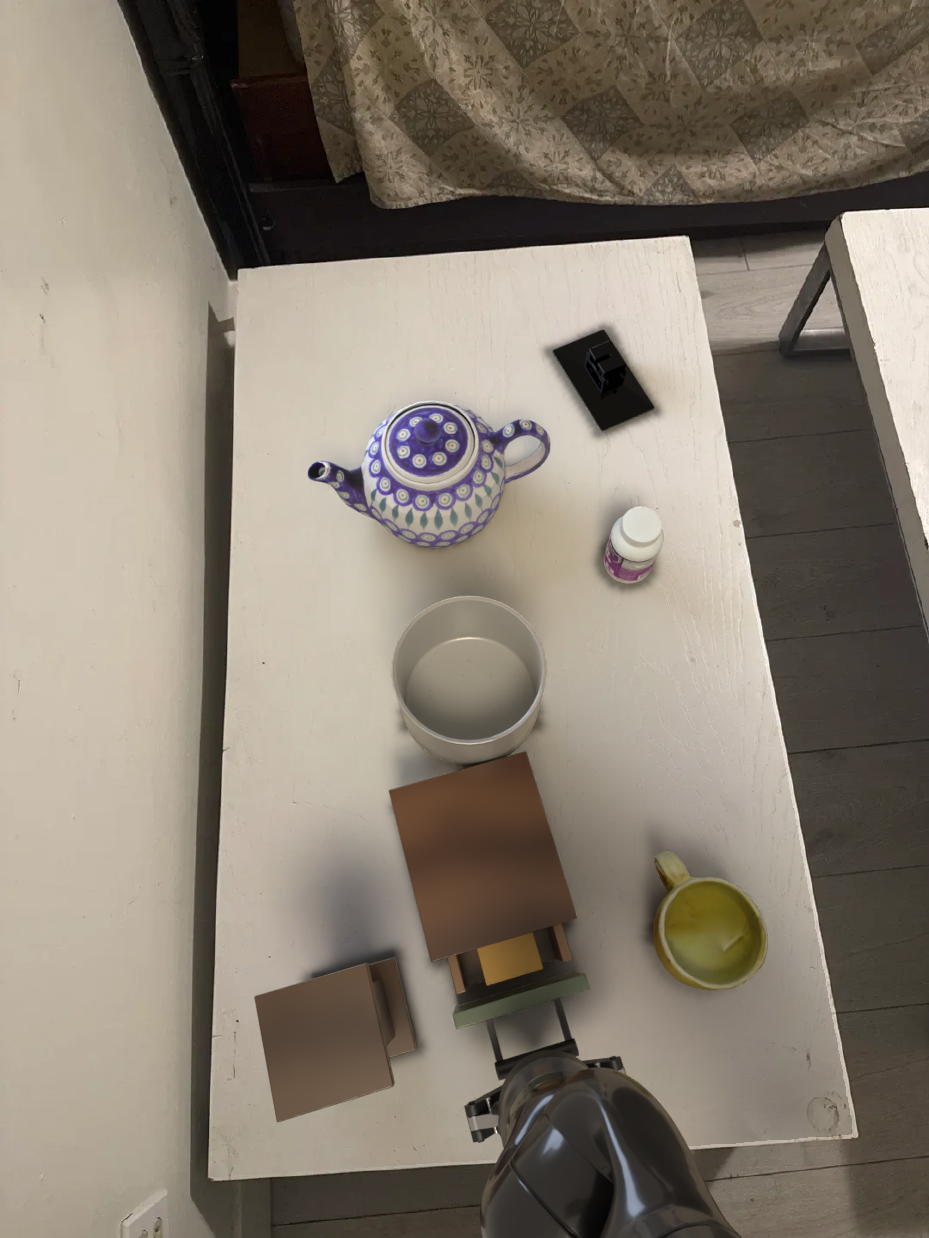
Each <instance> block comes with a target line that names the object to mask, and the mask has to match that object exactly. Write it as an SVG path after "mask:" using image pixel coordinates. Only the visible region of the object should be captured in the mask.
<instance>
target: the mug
mask: <svg viewBox="0 0 929 1238" xmlns="http://www.w3.org/2000/svg"><path fill="white" fill-rule="evenodd" d="M654 865H655V869H656V872H657V876H658V878H659V880H660V882H661V883H662V885H663V887H664V890H665V897H664V898H663V899H662V900H661V902H660V904H659V906H658V908H657V910H656V913H655V917H654V921H653V930H652V941H653V946H654V950H655V953H656V956H657V958H658V959H659V961H660V963H661V964H662V966H663V967H664V969H665V970H666V971H667V972H668V974H670V975H671V976H672V977H673V978H674V979H676V980H677V981H678V982H680V983H681V984H684V985H686V986H688V987H692V988H694V989H699V990H703V991H721V990H722V991H724V990H726V991H727V990H732V989H735V988H737V987H739V986H741V985H744V984H745V983H747V982H748V981H750V980H751V979H752V978H753V977H754V976H755V975H756V974H757V973H758V972H759V970H760V969H761V968H762V967H763V965H764V964H765V961H766V957H767V954H768V949H769V937H768V930H767V929H768V928H767V925H766V921H765V919H764V917H763V914H762V912H761V910H760V908H759V907H758V905H757V904H756V903H755V901H754V900H753V898H752V897H751V896H750V895H749V894H748V893H747V892H746V891H745V890H743V888H741V887H740V886H739V885H736V884H735V883H733V882H731V881H729V880H726V879H723V878H721V877H714V876H705V877H703V876H702V877H694V876H691V874H690V873H689V871H688V869H687V867H686V865H685V863H684V862H683V861H682V859H681V858H680V857H679V856H677V854H676V853H674V852H673V851H671V850H670V851H669V850H667V851H662V852H660V853H658V854H656V855H655V856H654Z"/></svg>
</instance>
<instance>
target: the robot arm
mask: <svg viewBox="0 0 929 1238" xmlns="http://www.w3.org/2000/svg"><path fill="white" fill-rule="evenodd" d="M463 1108H464V1112H465V1116H466V1120H467V1124H468V1129H469V1132H470V1135H471V1140H472V1143H479V1144H480V1143H483V1142H485V1140H487V1139H489V1138H490V1137H492V1136H493V1135H499V1136H500V1139H501V1144H502V1147H503V1149H502V1150H501V1153H500V1154H499V1156H498V1158H497V1160H496V1162H495V1164H494V1165H493V1169H492V1170H491V1172H490V1175H489V1177H488V1179H487V1181H486V1183H485V1186H484V1189H483V1191H482V1194H481V1199H480V1206H479V1207H480V1208H479V1222H480V1229H481V1230H480V1231H481V1236H482V1238H743V1237H742V1236H741V1234H739V1232H737V1231H736V1230H735V1229H734V1227H733V1226H732V1225H731V1224H730V1222H729V1221H728V1220H727V1218H726V1217H725V1215H724V1214H723V1212H722V1211H721V1209H720V1207H719V1206H718V1204H717V1201H716V1200H715V1199H714V1197H713V1195H712V1194H711V1192H710V1190H709V1187H708V1185H707V1183H706V1180H705V1178H704V1176H703V1174H702V1172H701V1169H700V1168H699V1165H698V1164H697V1161H696V1159H695V1156H694V1155H693V1153H692V1150H691V1149H690V1147H689V1145H688V1143H687V1141H686V1140H685V1137H684V1136H683V1134H682V1133H681V1130H680V1129H679V1127H678V1126H677V1124H676V1122H675V1121H674V1119H673V1118H672V1116H671V1115H670V1114H669V1112H668V1111H667V1110H666V1109H665V1107H664V1106H663V1105H662V1103H661V1102H660V1101H659V1100H658V1099H657V1098H656V1097H655V1096H654V1095H653V1094H652V1093H651V1091H649V1090H648V1089H647V1088H646V1087H645V1086H643V1084H641V1083H640V1082H639V1081H637V1080H636V1079H634V1078H633V1077H632V1076H629V1075H628V1074H627V1071H626V1069H625V1066H624V1063H623V1060H622V1057H621V1056H619V1055H618V1056H617V1055H612V1056H609V1057H601V1058H593V1059H586V1060H581V1059H580V1058H579V1057H575V1056H573V1055H571V1054H568V1053H566V1052H562V1051H557V1050H544V1051H539V1052H535V1053H532V1054H530V1055H528V1056H526V1057H525V1058H523V1059H522V1060H520V1061H519V1062H518V1063H517V1064H516V1065H515V1066H514V1067H513V1068H512V1070H511V1071H510V1072H509V1074H508V1075H507V1077H506V1079H504V1081H503V1083H502V1084H501V1085H499V1086H497V1087H496V1088H494V1089H493V1090H490V1091H489V1092H486V1093H485V1094H483V1095H481V1096H480V1097H477V1098H475V1099H474V1100H470V1101H468V1102H467V1103H466V1104H465V1105H463Z"/></svg>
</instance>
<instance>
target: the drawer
mask: <svg viewBox="0 0 929 1238" xmlns="http://www.w3.org/2000/svg"><path fill="white" fill-rule="evenodd" d="M564 930H565V929H564V927H563V923H561V924H558V925H555V926H551V927H548V928H545V929H541V930H538V931H535V932H533V934H534V937H535V941H536V944H537V948H538V951H539V955H540V958H541V962H542V965H544V964H549V963H551V962H555V961H558V962H563V963H566V962H569V961H572V960H573V956H572V953H571V950H570V947H569V943H568V940H567V937H566V936H567V935H566V934H565V931H564ZM446 959H447V964H448V967H449V971H450V975H451V979H452V982H453V986H454V987H453V988H454V991H455V994H456V995H460V994H463V993H466V991H467V988H469V987H472V986H475V985H476V986H477V985H479V984H482V983H486V982H485V978H484V974H483V970H482V967H481V963H480V959H479V955H478V952H477V949H475V950H471V951H468V952H465V953H461V954H458V955H455V956H451V957H448V958H446ZM587 990H591V986H590V983H589V980H588V975H587V974H586V973H584V972H581V971H579V970H575V969H573V970H570V971H567V972H563V973H560V974H557V975H554V976H551V977H547V978H544V979H540V980H537V981H534V982H530V983H528V984H524V985H521V986H517V987H514V988H511V989H507V990H503V991H501V992H498V993H495V994H491V995H488V996H485V997H481V998H478V999H475V1000H472V1001H468V1002H465V1003H461V1004H458V1005H456V1006H455V1008H454V1010H453V1013H452V1018H453V1022H454V1026H455V1029H456V1030H460V1029H463V1028H467V1027H469V1026H470V1027H471V1026H472V1025H477V1024H480V1023H482V1022H485V1024H486V1028H487V1032H488V1036H489V1039H490V1042H491V1043H490V1044H491V1048H492V1051H493V1055H494V1059H495V1062H494V1068H495V1072H496V1076H497V1079H498V1081H503V1080H505V1079H506V1077H507V1075H508V1074H509V1072H510V1071H511V1070H512V1068H513V1067H514V1066H515V1065H516V1064H517V1063H518V1062H519V1061H520V1060H522V1059H523V1058H525V1057H526V1056H528V1055H530V1054H532V1053H535V1052H539V1051H544V1050H557V1051H562V1052H566V1053H568V1054H571V1055H573V1056H575V1057H576V1058H578V1057H579V1056H580V1053H579V1048H578V1045H577V1041H576V1039H575V1037H573V1036H572V1033H571V1030H570V1026H569V1023H568V1020H567V1016H566V1013H565V1009H564V1005H563V1002H562V999H561V998H564V997H568V996H572V995H575V994H578V993H580V992H584V991H587ZM551 1001H553V1005H554V1008H555V1011H556V1015H557V1018H558V1022H559V1025H560V1029H561V1032H562V1035H563V1039H564V1040H561V1041H558V1042H556V1043H552V1044H549V1045H546V1046H542V1047H539V1048H536V1049H533V1050H530V1051H526V1052H524V1053H520V1054H516V1055H514V1056H511V1057H507V1058H504V1057H503V1053H502V1049H501V1046H500V1041H499V1038H498V1034H497V1031H496V1027H495V1023H494V1019H495V1018H499V1017H502V1016H503V1017H504V1016H505V1015H508V1014H512V1013H515V1012H519V1011H522V1010H526V1009H529V1008H532V1007H535V1006H538V1005H541V1004H544V1003H548V1002H551Z"/></svg>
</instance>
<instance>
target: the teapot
mask: <svg viewBox="0 0 929 1238" xmlns="http://www.w3.org/2000/svg"><path fill="white" fill-rule="evenodd" d="M524 436H531V437H533V438H535V439H537V440H538V441H539V442H540V443H539V445H538V447H537V449H536V450H535V451H534V452H532V454H531V455H530V456H529V457H527V458H525V459H524V460H521V461H519V462H516V463H514V464H511V465H506V460H505V451H506V449H507V447H508V446H509V444H510V443H511V442H512V441H514V440H517V439H518V438H520V437H524ZM550 453H551V438H550V435H549V433H548V432H547V430H546V429H545V428H544V427H543V426H541V425H540V424H538V423H537V422H536V421H533V420H531V419H530V420H529V419H523V418H522V419H516V420H513V421H511V422H510V423H508V424H506V425H504V426H503V427H502V428H500V429H499V430H497V431H494V429H493V428H492V427H491V425H489V424H488V423H487V422H486V421H485V420H484V419H483V418H482V416H480V415H479V414H477V413H476V412H475V411H473V410H471V409H469V408H467V407H464V406H462V405H459V404H456V403H452V402H449V401H442V400H433V399H432V400H420V401H418V402H414V403H410V404H409V405H406V406H405V407H403V408H400V409H398V410H397V411H396V412H393V413H392V414H391V415H389V416H388V417H387V418H386V419H384V420H383V421H382V422H381V423H379V424H378V425H377V427H376V428H375V430H374V431H373V432H372V435H371V437H370V439H369V441H368V443H367V446H366V449H365V452H364V456H363V460H362V462H361V465H359V467H357V468H354V469H346V468H344V467H342V466H340V465H338V464H336V463H334V462H331V461H327V460H319V461H318V460H317V461H315V462H313V463H311V465H310V466H309V467H308V469H307V478H308V479H309V480H310V481H313V482H318V483H322V484H326V485H329V486H330V487H331V488H332V489H333V490H334V491H335V493H336V494H337V495H338V497H339V498H340V499H341V501H343V503H344V504H345V505H346V506H347V507H349V508H351V509H352V510H354V511H355V512H357V513H359V514H361V515H364V516H366V517H368V518H371V519H373V520H375V521H376V522H378V523H379V524H380V525H381V526H382V527H384V529H385V530H386V531H388V532H389V533H390V534H391V535H393V536H395V537H396V538H397V539H399V540H401V541H402V542H403V541H404V542H406V543H407V544H409V545H413V546H416V547H421V548H428V549H441V548H448V547H452V546H456V545H460V543H461V544H462V543H463V542H466V541H467V540H469V539H471V538H472V537H474V536H475V535H478V533H480V532H482V530H483V529H484V528H485V527H486V526H487V525H488V524H489V522H490V521H491V520H492V519H493V517H494V516H495V515H496V514H497V511H498V508H499V507H500V503H501V501H502V498H503V496H504V490H505V485H506V484H509V483H511V482H512V481H515V480H519V479H521V478H524V477H525V476H528V475H530V474H531V473H533V472H535V471H536V470H538V469H539V468H541V466H542V465H543V464H545V462H546V460H547V459H548V457H549V455H550Z"/></svg>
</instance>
